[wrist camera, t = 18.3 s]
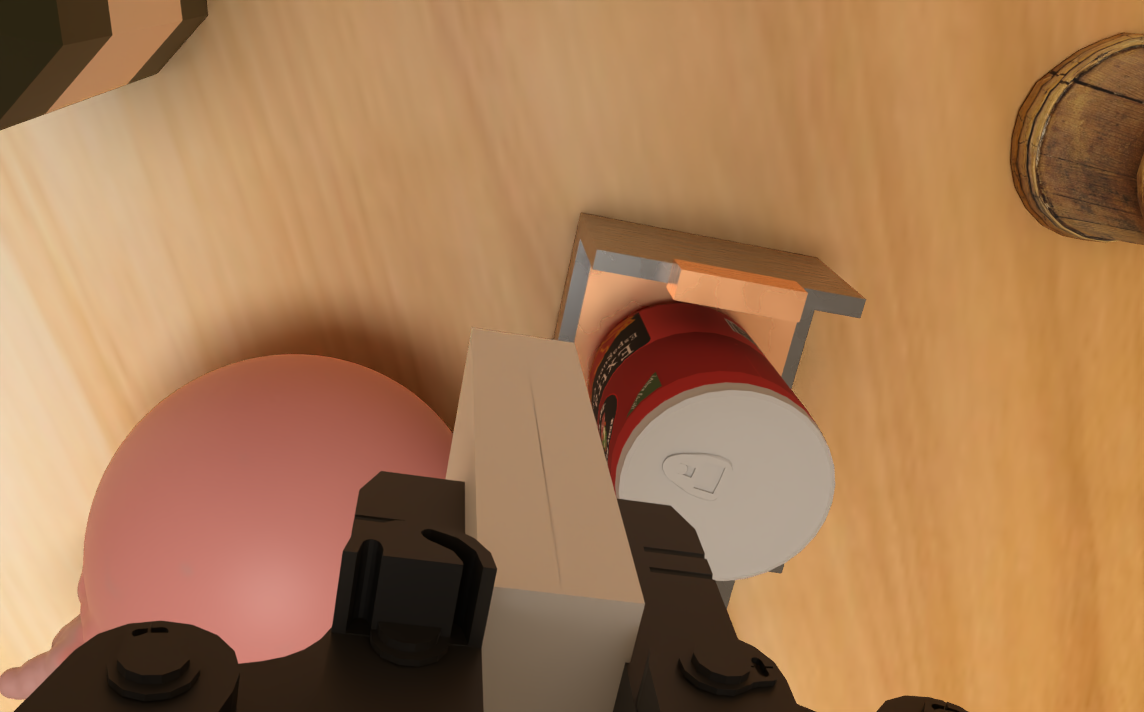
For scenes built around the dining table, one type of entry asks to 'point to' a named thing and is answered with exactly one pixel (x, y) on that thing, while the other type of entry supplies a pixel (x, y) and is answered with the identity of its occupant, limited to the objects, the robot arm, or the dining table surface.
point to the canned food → (711, 436)
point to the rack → (695, 291)
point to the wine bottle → (84, 48)
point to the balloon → (242, 505)
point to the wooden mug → (1086, 144)
